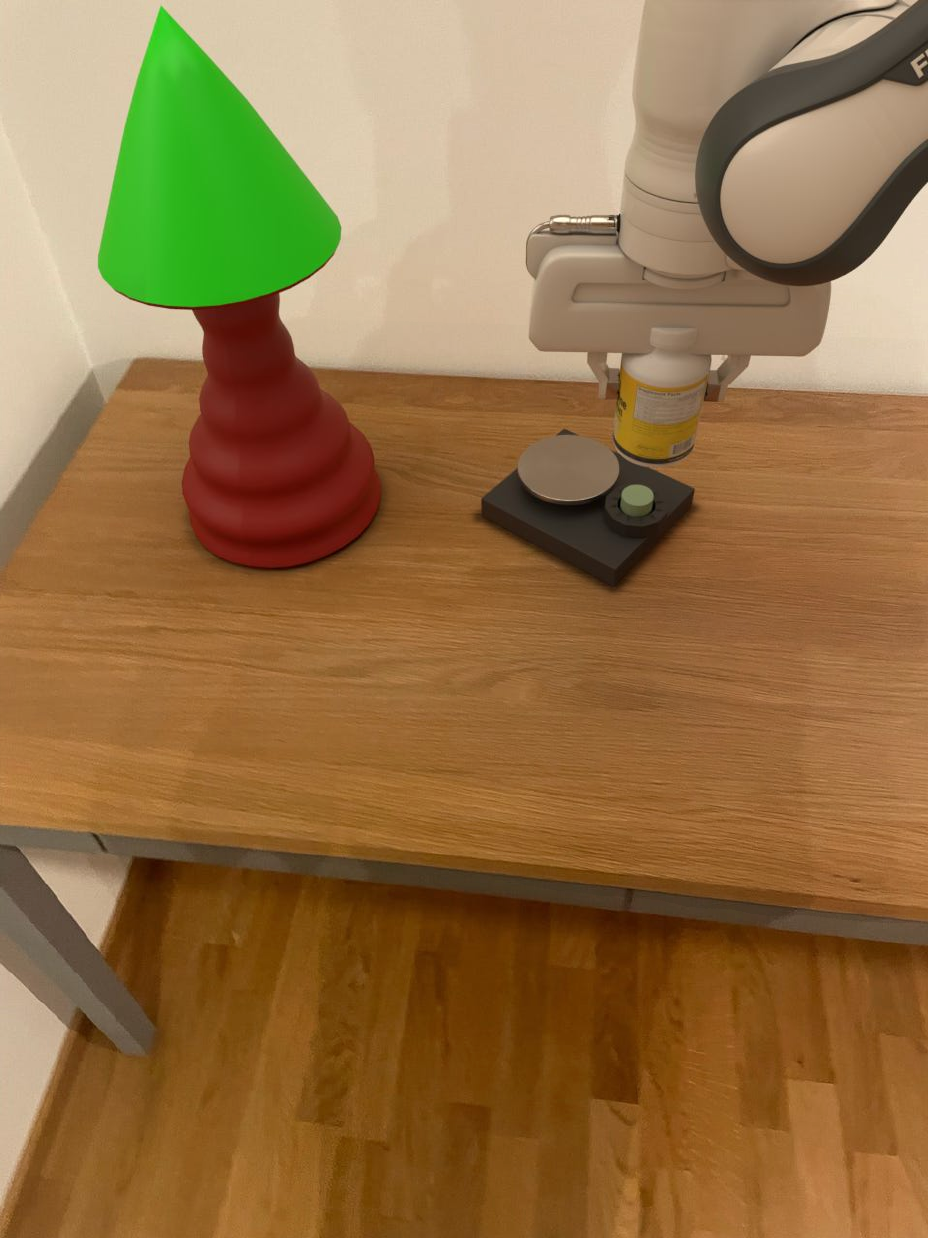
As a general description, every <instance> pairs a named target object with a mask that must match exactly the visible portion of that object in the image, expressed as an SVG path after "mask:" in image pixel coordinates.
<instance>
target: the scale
mask: <svg viewBox="0 0 928 1238" xmlns="http://www.w3.org/2000/svg"><path fill="white" fill-rule="evenodd" d="M558 435H577V436H581V435H580V434H577V433H576V432H573V431H571V430H569V429H567V428H562V430H560V431H559V432H558V433H557V434H556V435H555V436H558ZM610 450H611V451H612V452H613V453H614V455H615V456H616V458H617V460H618V463H619V477H618V480H617V483H616V484H615V486H614V487H613V489H612V490H611V491H610V492H609V493H607V494H606V495H605V496H603V497H601V498H599V499H597V500H595V501H592V502H589V503H584V504H578V505H561V504H554V503H550V502H547V501H544V500H541V499H539V498H537V497H535V496H534V495H532V494H531V493H529V492H528V491H527V490H526V489H525V488H524V487H523V485H522V484H521V482H520V480H519V477H518V467H516V469H514V470H513V471H512V472H511V473H510V474H508V475H507V476H506V477H505V478H504V479H503V480H501V481H500V482H499V483H497V485H495V486H494V487H492V489H490V490H489V491H488V492H487V493H486V494H485V495H483V496H482V497H481V498H480V502H481V517H483V518H485V519H487V520H489V521H490V522H492V523H494V524H496V525H497V526H500V527H501V528H503V529H505V530H507V531H508V532H510V533H512V534H514V535H516V536H518V537H520V538H522V539H524V540H525V541H527V542H529V543H531V544H533V545H535V546H537V547H538V548H541V549H543V550H544V551H546V552H548V553H550V554H551V555H553V556H555V557H557V558H559V559H560V560H563V561H564V562H566V563H568V564H570V565H572V566H573V567H576V568H577V569H580V570H581V571H583V572H585V573H587V574H589V575H590V576H591V577H595V579H598V580H600V581H602V582H603V583H605V584H607V585H609V586H611V587H615V586H617V584H619V582H620V581H621V580H622V579H623V578H624V577H625V576H626V575H627V574H628V573H629V572H630V571H631V570H632V568H634V567H635V565H636V564H638V562H639V561H641V559H642V558H643V557H645V555H646V554H647V553H648V552H649V551H650V550H651V549H652V548H653V547H654V546H655V545H656V544H657V543H658V542H659V541H660V540H661V539H662V538H663V536H665V535H666V534H667V532H669V530H671V529H672V527H673V526H674V525H675V524H676V523H677V522H678V521H679V520H680V519H681V518H683V516H684V515H685V514H686V513H687V512H688V511H689V510H690V509H691V508H692V506H693V501H694V498H695V497H694V496H695V493H696V492H695V491H696V488H694V487H693V486H690V485H688V484H686V483H684V482H682V481H679V480H677V479H676V478H673V477H671V476H668V475H666V474H665V473H662V472H660V471H657V470H655V469H653V468H650V467H644V466H640V465H637V464H634V463H632V462H630V461H628V460H626V459H625V458H624V457H622V456H621V455H620V454H619V452H618V451H617V452H616V451H614V450H612V449H610ZM630 485H643V486H646V487H648V488H649V489H650V490H651V491H652V492H653V495H654V498H653V505H652V510H651V512H650V513H649V514H648V515H646V516H644V517H631V516H628V515H626V514H625V513H624V512H623V511H622V510H621V507H620V504H621V495H622V491H623V490H624V489H625V488H626V487H628V486H630Z"/></svg>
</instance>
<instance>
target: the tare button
mask: <svg viewBox="0 0 928 1238" xmlns="http://www.w3.org/2000/svg"><path fill="white" fill-rule="evenodd" d="M653 498H654V495H653V492H652V491H651V490H650V489H649V488H648V487H646V486H643V485H630V486H628V487H626V488H625V489H624V490H623V491H622V495H621V504H620V507H621V510H622V511H623V512H624V513H625V514H626V515H628V516H631V517H644V516H646V515H648V514H649V513H650V512H651V510H652V505H653Z"/></svg>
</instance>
